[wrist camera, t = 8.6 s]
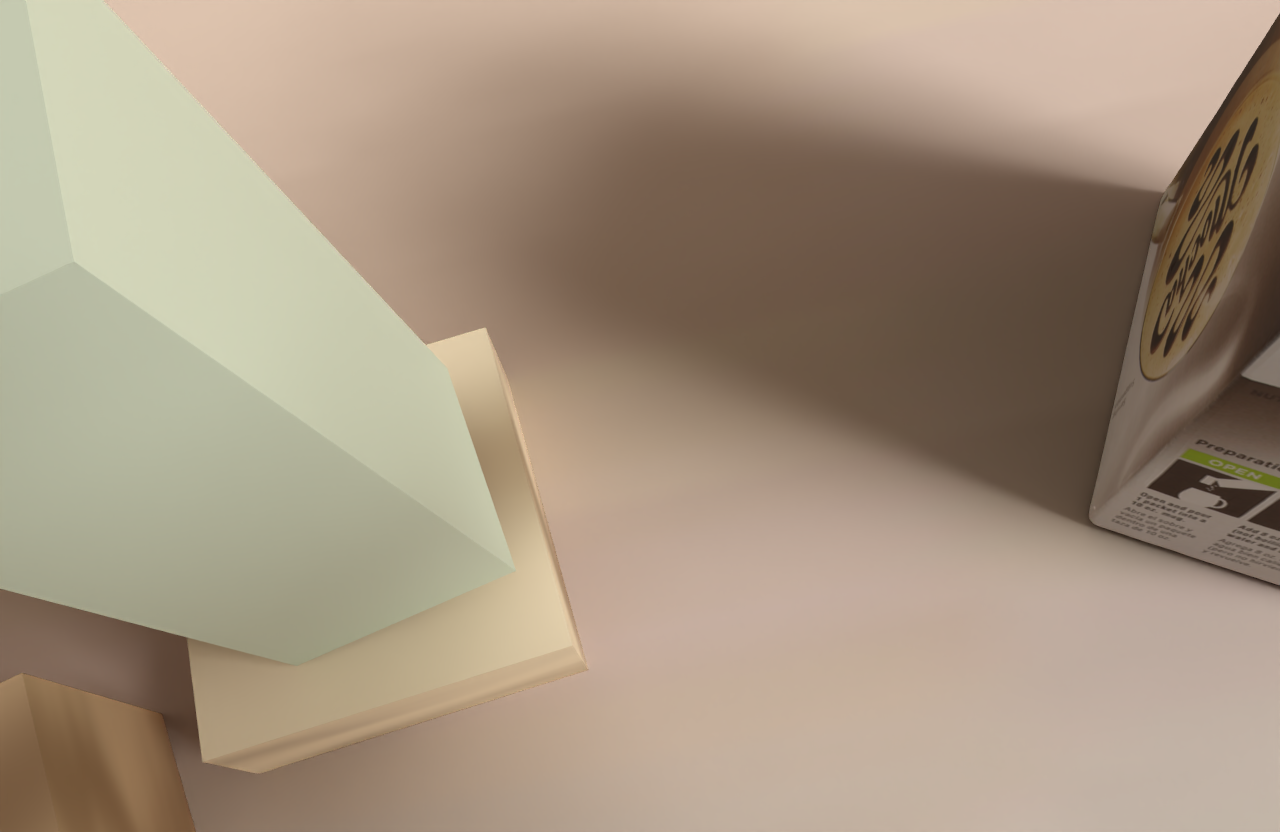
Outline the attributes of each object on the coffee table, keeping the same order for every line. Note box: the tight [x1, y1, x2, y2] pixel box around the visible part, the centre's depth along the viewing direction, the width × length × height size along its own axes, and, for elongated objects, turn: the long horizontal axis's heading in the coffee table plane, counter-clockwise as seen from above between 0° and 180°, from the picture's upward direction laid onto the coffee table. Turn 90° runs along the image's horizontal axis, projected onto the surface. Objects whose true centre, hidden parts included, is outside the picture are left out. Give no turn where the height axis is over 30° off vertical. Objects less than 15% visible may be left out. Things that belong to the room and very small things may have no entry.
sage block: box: [0, 0, 516, 666], centre depth 15 cm, size 4×4×12 cm
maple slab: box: [187, 327, 588, 774], centre depth 22 cm, size 7×7×3 cm
